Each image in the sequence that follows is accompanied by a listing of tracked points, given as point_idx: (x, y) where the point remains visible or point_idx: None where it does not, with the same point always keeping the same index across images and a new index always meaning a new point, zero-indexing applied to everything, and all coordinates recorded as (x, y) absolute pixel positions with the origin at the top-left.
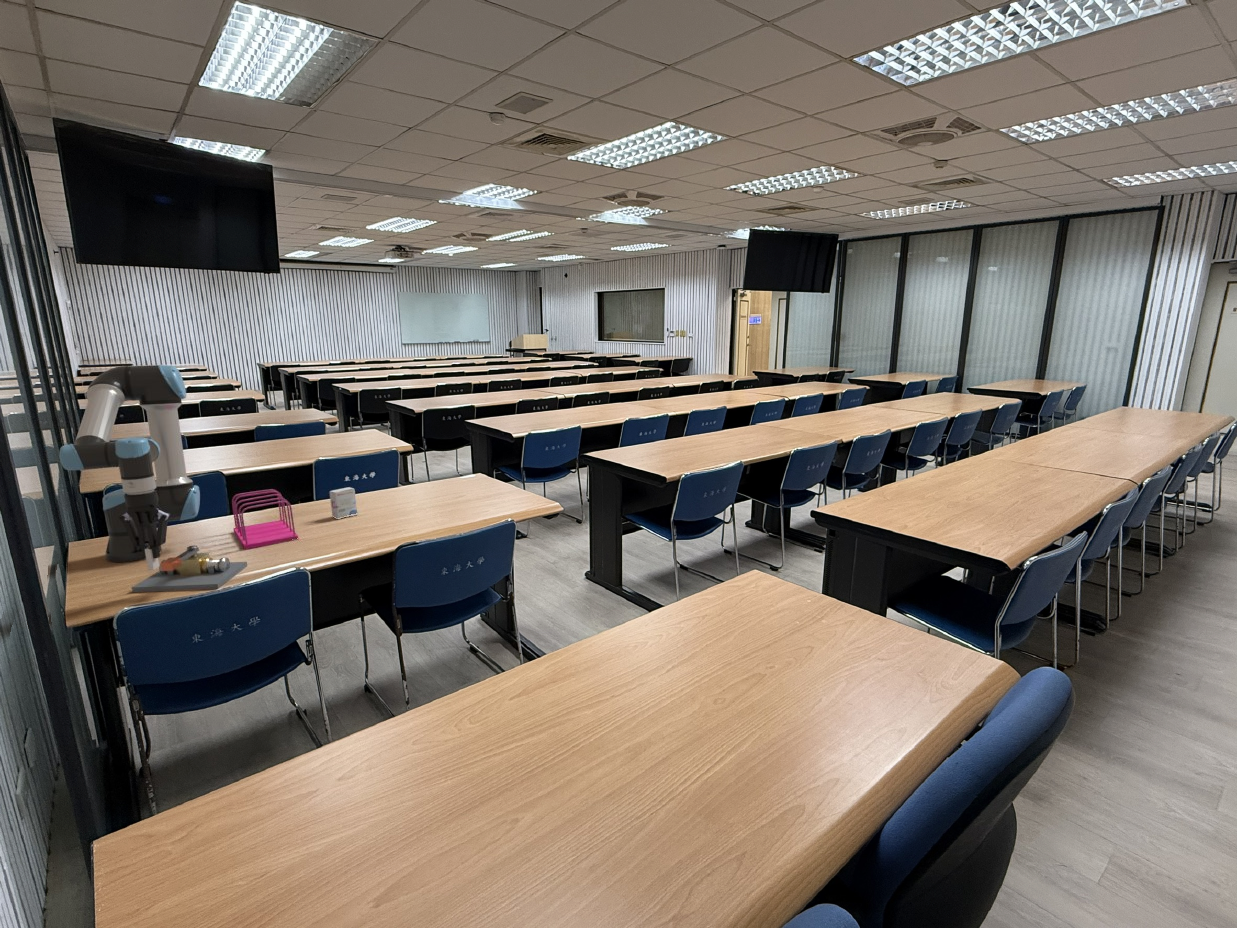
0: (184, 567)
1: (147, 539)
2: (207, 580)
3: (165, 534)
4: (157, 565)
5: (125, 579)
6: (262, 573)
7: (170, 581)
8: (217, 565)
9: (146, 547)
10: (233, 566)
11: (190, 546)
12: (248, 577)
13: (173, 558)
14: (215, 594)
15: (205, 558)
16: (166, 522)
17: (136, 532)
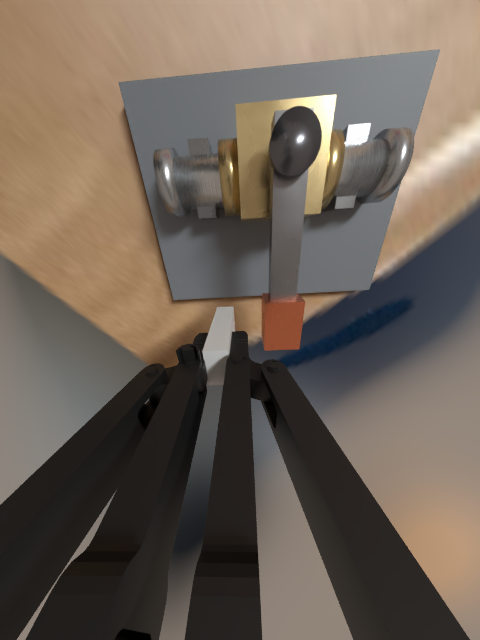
0: (259, 219)
1: (196, 398)
2: (336, 265)
3: (312, 415)
4: (233, 317)
5: (77, 209)
6: (472, 172)
7: (241, 268)
8: (365, 194)
9: (206, 377)
10: (389, 127)
11: (282, 130)
12: (428, 210)
13: (284, 312)
14: (363, 315)
15: (330, 168)
16: (426, 597)
17: (110, 455)
